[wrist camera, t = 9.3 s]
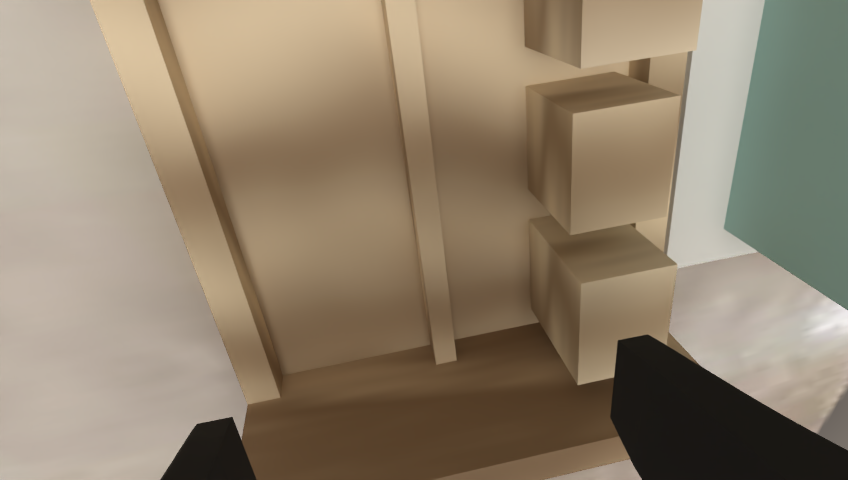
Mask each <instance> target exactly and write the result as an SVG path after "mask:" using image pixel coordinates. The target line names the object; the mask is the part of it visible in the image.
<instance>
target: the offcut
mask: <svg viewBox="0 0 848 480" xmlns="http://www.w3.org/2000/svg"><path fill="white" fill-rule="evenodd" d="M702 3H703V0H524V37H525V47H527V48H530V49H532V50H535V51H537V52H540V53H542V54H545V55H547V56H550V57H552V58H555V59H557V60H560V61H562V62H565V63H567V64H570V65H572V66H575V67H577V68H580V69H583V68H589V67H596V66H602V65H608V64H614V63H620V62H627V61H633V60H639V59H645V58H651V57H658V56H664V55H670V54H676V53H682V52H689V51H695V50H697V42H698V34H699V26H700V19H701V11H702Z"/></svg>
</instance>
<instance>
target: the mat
mask: <svg viewBox="0 0 848 480" xmlns="http://www.w3.org/2000/svg"><path fill="white" fill-rule="evenodd" d="M764 3H765V0H703V3H702V11H701V19H700V26H699V34H698V42H697V50H695V51H689V52H688V54H687V63H686V71H685V79H684V87H683V96H682V104H681V112H680V120H679V129H678V137H677V145H676V154H675V162H674V170H673V178H672V187H671V195H670V203H669V211H668V220H667V228H666V236H665V245H664V253H665V254H666V255H667V256H668V257H669V258H671V259H672V260H673V261H674V262H675V263H677V264H678V266H677V268H681V267H686V266H691V265H696V264H701V263H706V262H710V261H715V260H720V259H725V258H730V257H735V256H740V255H745V254H750V253H755V252H758V251H757V250H755V249H754V248H752V247H751V246H749V245H747V244H746V243H744V242H743V241H741V240H740V239H738V238H737V237H735V236H734V235H732V234H731V233H729V232H728V231H726V230H725V229H724V224H725V218H726V212H727V207H728V201H729V196H730V190H731V185H732V179H733V174H734V168H735V163H736V157H737V152H738V146H739V141H740V135H741V130H742V124H743V119H744V113H745V108H746V102H747V96H748V91H749V85H750V80H751V74H752V69H753V63H754V58H755V52H756V47H757V41H758V36H759V30H760V25H761V19H762V14H763V8H764Z"/></svg>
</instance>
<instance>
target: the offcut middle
mask: <svg viewBox="0 0 848 480" xmlns="http://www.w3.org/2000/svg"><path fill="white" fill-rule="evenodd" d="M680 99H681V95H678V94H675V93H673V92H670V91H667V90H664V89H661V88H659V87H656V86H653V85H650V84H648V83H645V82H642V81H639V80H637V79H634V78H631V77H628V76H625V75H623V74H620V73H617V72H608V73H602V74H596V75H590V76H584V77H577V78H571V79H565V80H559V81H553V82H547V83H541V84H534V85H528V86H526V122H527V165H528V190H529V191H530V192H531V193H532V194H533V195H534V196H535V197H536V198H537V199H538V201H539V202H540V203H541V204H542V205H543V206H544V207H545V208H546V209H547V210H548V211H549V213H550V214H551V215H552V216H553V217H554V218H555V219H556V220H557V221H558V222H559V223H560V224H561V226H562V227H563V228H564V229H565V230H566V231H567V232H568V233H569V234H570V235H574V234H579V233H585V232H590V231H595V230H600V229H606V228H611V227H616V226H621V225H626V224H632V223H637V222H642V221H647V220H652V219H658V218H663V217H666V216H667V208H668V199H669V191H670V182H671V174H672V166H673V157H674V149H675V141H676V132H677V124H678V116H679V107H680Z"/></svg>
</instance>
